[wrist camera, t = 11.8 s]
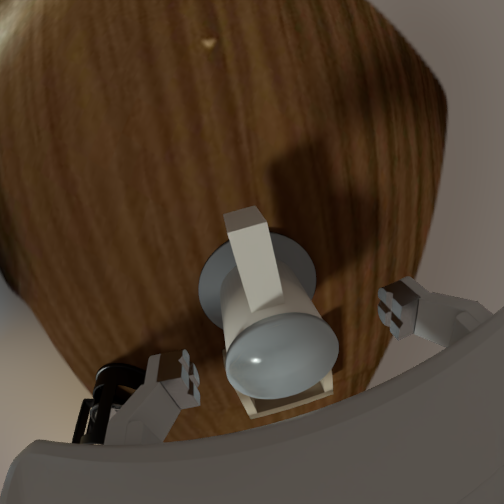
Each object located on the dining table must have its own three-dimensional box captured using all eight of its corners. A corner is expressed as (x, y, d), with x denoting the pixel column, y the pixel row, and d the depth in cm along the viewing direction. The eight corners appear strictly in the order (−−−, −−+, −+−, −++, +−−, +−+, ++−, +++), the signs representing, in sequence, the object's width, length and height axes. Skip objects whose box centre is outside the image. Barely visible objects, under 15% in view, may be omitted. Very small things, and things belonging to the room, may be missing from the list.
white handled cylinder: (304, 312, 30) (339, 378, 21) (230, 334, 29) (243, 408, 20) (280, 185, 24) (327, 218, 15) (186, 211, 23) (175, 261, 14)
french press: (152, 359, 30) (140, 547, 9) (175, 403, 34) (180, 553, 13) (75, 364, 29) (34, 516, 8) (105, 405, 33) (87, 538, 12)
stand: (325, 379, 36) (333, 393, 34) (247, 403, 36) (250, 419, 33) (319, 320, 31) (329, 336, 29) (222, 349, 31) (224, 368, 28)
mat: (319, 314, 31) (321, 317, 30) (219, 344, 30) (219, 347, 30) (304, 216, 26) (307, 218, 25) (181, 252, 25) (181, 254, 25)
